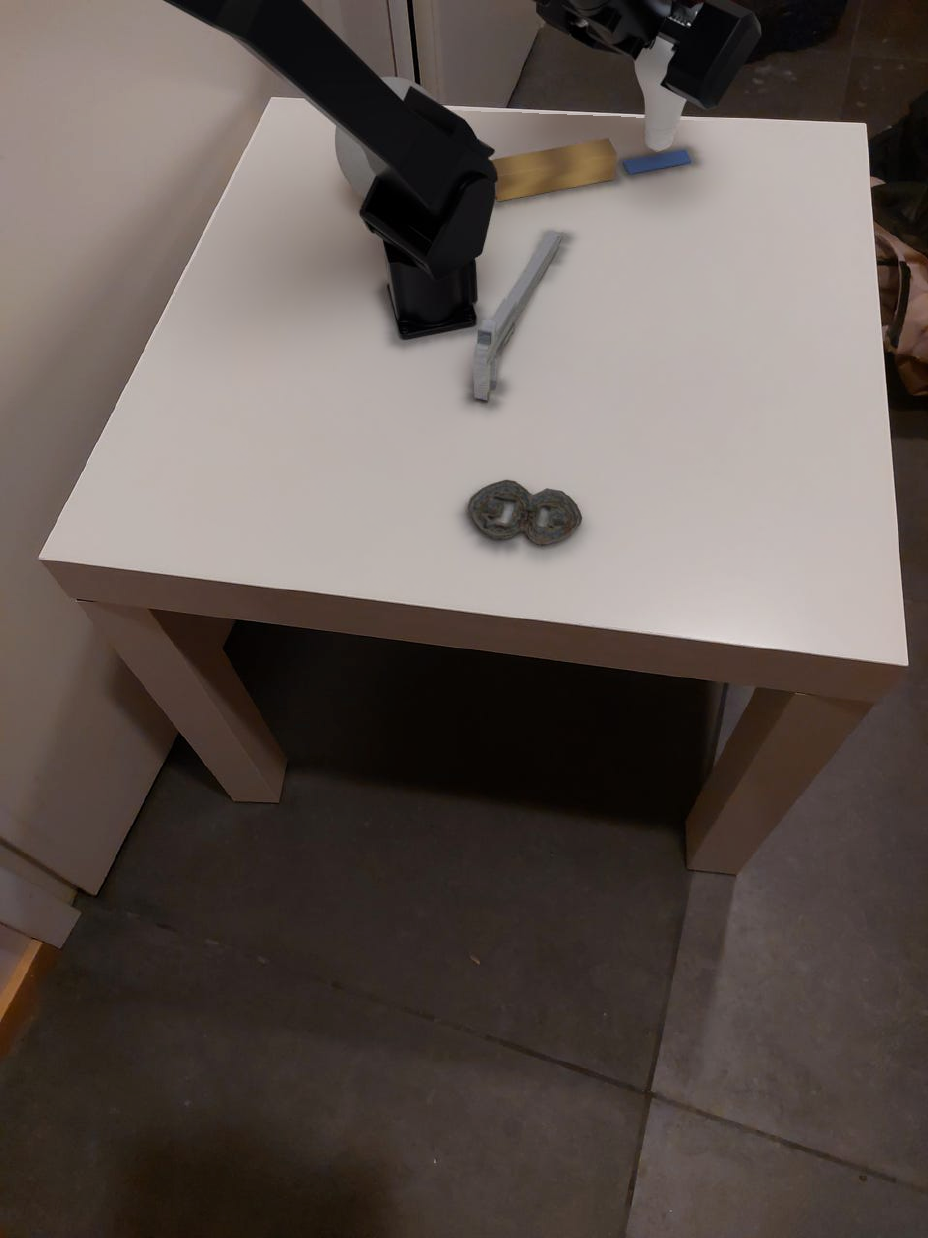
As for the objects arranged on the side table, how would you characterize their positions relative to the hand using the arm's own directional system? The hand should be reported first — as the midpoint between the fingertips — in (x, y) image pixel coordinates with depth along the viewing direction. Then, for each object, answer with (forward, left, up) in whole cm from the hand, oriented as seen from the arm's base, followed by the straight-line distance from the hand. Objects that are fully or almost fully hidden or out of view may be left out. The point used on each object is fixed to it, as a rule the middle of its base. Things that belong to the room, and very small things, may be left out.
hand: (680, 67), depth 72 cm
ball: (-25, +1, -8) cm, 26 cm away
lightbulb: (-1, -1, -7) cm, 7 cm away
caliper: (-18, -17, -8) cm, 26 cm away
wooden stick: (-11, -1, -8) cm, 14 cm away
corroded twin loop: (-23, -37, -8) cm, 44 cm away
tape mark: (-1, -1, -8) cm, 8 cm away
